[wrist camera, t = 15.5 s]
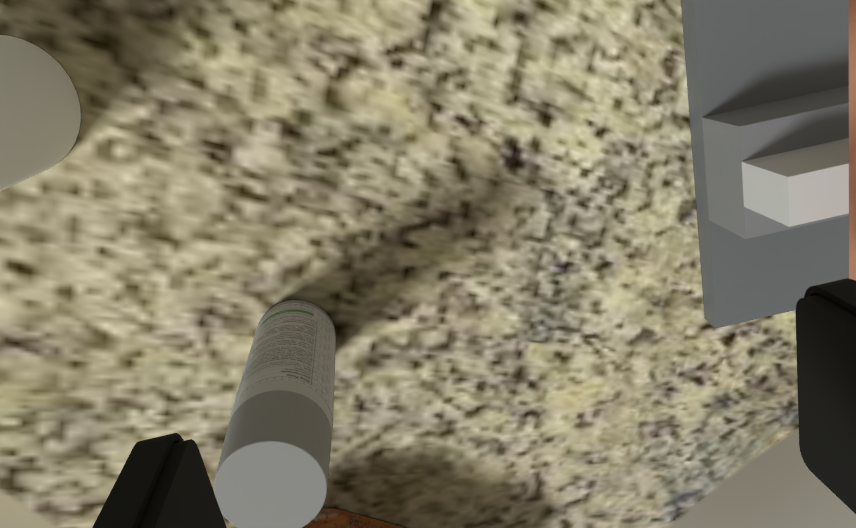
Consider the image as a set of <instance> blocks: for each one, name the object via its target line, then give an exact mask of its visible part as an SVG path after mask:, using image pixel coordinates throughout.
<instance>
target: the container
mask: <svg viewBox="0 0 856 528" xmlns="http://www.w3.org/2000/svg"><path fill="white" fill-rule="evenodd" d="M335 347H336V333H335V328H334V325H333V322H332V320H331V319H330V317H329V316H328V314H327V313H326V312H325V311H324V310H323V309H321V308H320V307H318V306H317V305H315V304H313V303H310V302H307V301H302V300H289V301H285V302H281V303H279V304H277V305H275V306H273V307H272V308H270V309H269V310H268V311H267V312H266V313H265V314H264V315H263V317H262V318H261V320H260V322H259V325H258V327H257V330H256V333H255V337H254V340H253V343H252V346H251V350H250V353H249V356H248V360H247V363H246V366H245V369H244V373H243V376H242V379H241V382H240V386H239V389H238V392H237V396H236V399H235V402H234V405H233V409H232V412H231V416H230V420H229V424H228V429H227V433H226V437H225V441H224V445H223V449H222V453H221V457H220V461H219V465H218V469H217V473H216V477H215V481H214V494H215V497H216V500H217V502H218V505H219V508H220V511H221V512H222V514H223V515H224V516H225V517H226V519H228V520H229V521H230V522H231V523H232V524H234V525H235V526H237V527H238V528H302V527H303V526H305V525H307V524H308V523H309V522H310V521H312V520H313V519H314V518H315V517H316V515H317V514H318V513H319V512H320V510H321V508H322V507H323V505H324V502H325V499H326V495H327V486H328V474H329V463H330V451H331V440H332V430H333V407H334V377H335Z"/></svg>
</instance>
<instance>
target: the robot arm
mask: <svg viewBox="0 0 856 528" xmlns="http://www.w3.org/2000/svg"><path fill="white" fill-rule="evenodd" d="M796 340H797V376H798V411H799V445H800V452H801V455H802V458H803V460H804V462H805V463H806V466H807V467H808V468H809V470H810V471H811V472H812V473H813V474H814V475H815V476H816V477H817V478H818V479H819V480H821V481H822V482H823V483H824V484H825V485H826V486H827V487H828V488H829V489H830V490H831V491H832V492H833V493H834V494H835V495H836V496H837V497H838V498H839V499H841V500H842V501H843V502H844V503H845V504H846V505H847V506H848V507H849V508H850V509H851V510H852V511H853V512H854V513H855V514H856V281H855V280H853V279H849V278H846V279H841V280H837V281H833V282H828V283H824V284H820V285H815V286H811V287H809V288H808V289H807V290H806V292H805V295H804V298H800V299H799V300H798V302H797V304H796ZM93 528H226V525H225V522H224V519H223V516H222V514H221V511H220V508H219V505H218V502H217V500H216V497H215V494H214V491H213V488H212V486H211V483H210V480H209V477H208V474H207V471H206V469H205V466H204V463H203V460H202V457H201V455H200V452H199V449H198V447H197V444H196V443H195V442H194V440H192V439H191V440H186V441H183V439H182V437H181V436H180V435H179V434H177V433H174V434H169V435H165V436H161V437H156V438H152V439H148V440H143V441H139V442H137V443H136V444H135V446H134V447H133V449H132V451H131V453H130V455H129V457H128V459H127V461H126V463H125V465H124V467H123V469H122V471H121V473H120V475H119V477H118V479H117V481H116V483H115V485H114V487H113V488H112V490H111V492H110V494H109V496H108V498H107V500H106V502H105V504H104V506H103V508H102V510H101V512H100V514H99V516H98V518H97V520H96V522H95V524H94V526H93Z"/></svg>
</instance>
